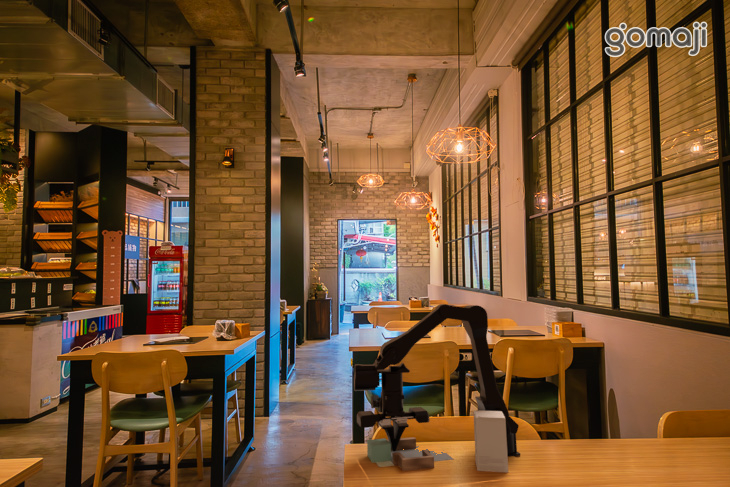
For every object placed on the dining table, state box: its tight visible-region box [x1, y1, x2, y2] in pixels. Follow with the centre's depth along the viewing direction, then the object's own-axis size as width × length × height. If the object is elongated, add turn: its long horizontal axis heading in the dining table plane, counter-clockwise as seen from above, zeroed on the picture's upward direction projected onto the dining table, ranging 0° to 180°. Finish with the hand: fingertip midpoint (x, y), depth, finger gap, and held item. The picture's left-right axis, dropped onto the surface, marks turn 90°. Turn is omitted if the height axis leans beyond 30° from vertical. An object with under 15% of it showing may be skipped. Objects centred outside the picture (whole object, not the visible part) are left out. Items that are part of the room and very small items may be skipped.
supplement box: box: [473, 410, 509, 473], centre depth 106 cm, size 7×7×13 cm
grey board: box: [375, 445, 455, 468], centre depth 114 cm, size 20×12×1 cm, turn 103°
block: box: [366, 438, 391, 464], centre depth 112 cm, size 5×5×4 cm
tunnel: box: [386, 436, 435, 472], centre depth 112 cm, size 10×16×3 cm, turn 13°
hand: (393, 451), depth 113 cm, fingers closed
